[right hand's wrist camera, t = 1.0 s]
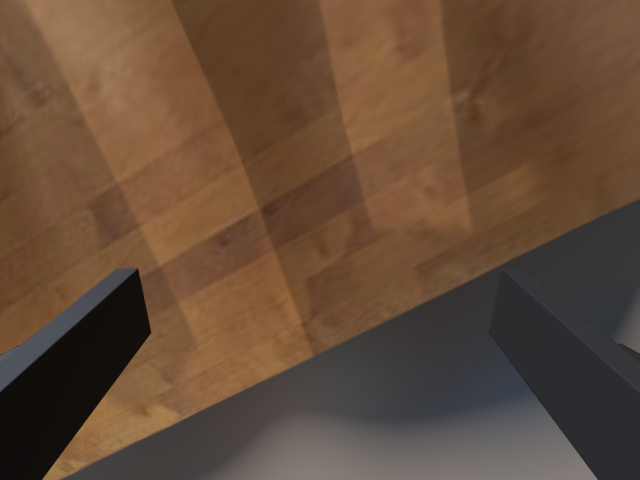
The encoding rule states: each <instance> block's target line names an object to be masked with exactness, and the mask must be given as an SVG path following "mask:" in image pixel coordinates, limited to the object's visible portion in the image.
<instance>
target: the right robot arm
mask: <svg viewBox="0 0 640 480" xmlns="http://www.w3.org/2000/svg"><path fill="white" fill-rule="evenodd" d="M150 334H151V329H150V324H149V319H148V315H147V310H146V305H145V300H144V295H143V290H142V285H141V280H140V276H139V271H138V269H116V270H114V271H113V272H112V273H111V274H109V275H108V276H107V277H106V278H104V279H103V280H102V281H101V282H99V283H98V284H97V285H96V286H94V287H93V288H92V289H91V290H89V291H88V292H87V293H86V294H85V295H83V296H82V297H81V298H80V299H78V300H77V301H76V302H75V303H73V304H72V305H71V306H70V307H68V308H67V309H66V310H65V311H63V312H62V313H61V314H60V315H58V316H57V317H56V318H55V319H53V320H52V321H51V322H50V323H48V324H47V325H46V326H45V327H43V328H42V329H41V330H40V331H38V332H37V333H36V334H35V335H33V336H32V337H31V338H30V339H28V340H27V341H26V342H25V343H23V344H22V345H18V346H16V347H15V348H13V349H11V350H9V351H7V352H5V353H3V354H1V355H0V480H42V479H43V478H44V476H45V475H46V474H47V472H48V471H49V470H50V468H51V467H52V466H53V464H54V463H55V462H56V460H57V459H58V458H59V456H60V455H61V453H62V452H63V451H64V449H65V448H66V447H67V445H68V444H69V443H70V441H71V440H72V439H73V437H74V436H75V435H76V433H77V432H78V431H79V429H80V428H81V427H82V425H83V424H84V423H85V421H86V420H87V418H88V417H89V416H90V414H91V413H92V412H93V410H94V409H95V408H96V406H97V405H98V404H99V402H100V401H101V400H102V398H103V397H104V396H105V394H106V393H107V392H108V390H109V389H110V388H111V386H112V385H113V383H114V382H115V381H116V379H117V378H118V377H119V375H120V374H121V373H122V371H123V370H124V369H125V367H126V366H127V365H128V363H129V362H130V361H131V359H132V358H133V357H134V355H135V354H136V353H137V351H138V350H139V348H140V347H141V346H142V344H143V343H144V342H145V340H146V339H147V338H148V336H149V335H150ZM489 334H490V335H491V336H492V338H493V339H494V340H495V342H496V343H497V344H498V346H499V347H500V348H501V350H502V351H503V353H504V354H505V355H506V356H507V358H508V359H509V360H510V362H511V363H512V365H513V366H514V367H515V369H516V370H517V371H518V373H519V374H520V375H521V377H522V378H523V379H524V381H525V382H526V383H527V385H528V386H529V387H530V389H531V390H532V392H533V393H534V394H535V396H536V397H537V398H538V400H539V401H540V402H541V404H542V405H543V406H544V408H545V409H546V410H547V412H548V413H549V414H550V416H551V417H552V418H553V420H554V421H555V422H556V424H557V425H558V427H559V428H560V429H561V431H562V432H563V433H564V435H565V436H566V437H567V439H568V440H569V441H570V443H571V444H572V445H573V447H574V448H575V449H576V451H577V452H578V453H579V455H580V456H581V458H582V459H583V460H584V462H585V463H586V464H587V466H588V467H589V468H590V470H591V471H592V472H593V474H594V475H595V476H596V478H597V479H598V480H640V353H638V352H636V351H634V350H632V349H630V348H628V347H626V346H624V345H622V344H617V343H615V342H614V341H613V340H612V339H610V338H609V337H608V336H607V335H605V334H604V333H603V332H602V331H600V330H599V329H598V328H597V327H595V326H594V325H593V324H592V323H590V322H589V321H588V320H587V319H585V318H584V317H583V316H582V315H580V314H579V313H578V312H577V311H575V310H574V309H573V308H572V307H570V306H569V305H568V304H567V303H565V302H564V301H563V300H562V299H560V298H559V297H558V296H557V295H555V294H554V293H553V292H552V291H551V290H549V289H548V288H547V287H546V286H544V285H543V284H542V283H540V282H539V281H538V280H537V279H536V278H534V277H533V276H532V275H531V274H529V273H528V272H527V271H526V270H524V269H502V271H501V276H500V280H499V285H498V290H497V295H496V300H495V305H494V310H493V315H492V319H491V324H490V329H489Z"/></svg>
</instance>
